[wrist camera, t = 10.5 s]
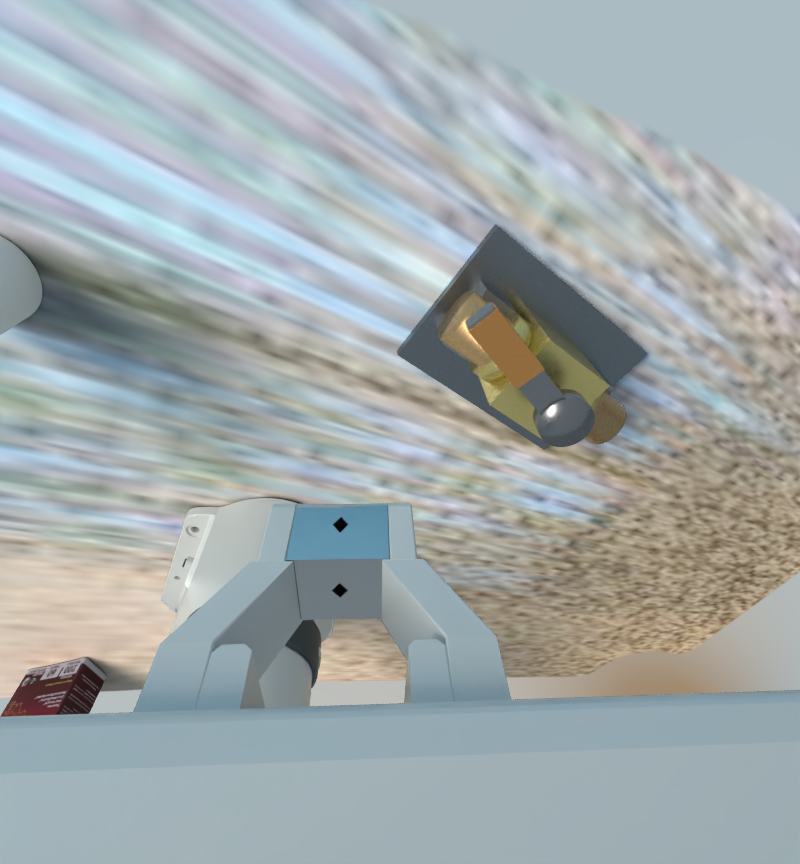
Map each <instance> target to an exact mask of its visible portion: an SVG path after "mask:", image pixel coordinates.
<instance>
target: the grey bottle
mask: <svg viewBox="0 0 800 864" xmlns="http://www.w3.org/2000/svg"><path fill="white" fill-rule="evenodd" d="M42 292H43V291H42V284H41V280H40V277H39V274H38V272H37V270H36V268H35V267H34V265H33V264H32V262H31V261H30V260H29V258H28V257H27V256H26V255H25V254H24V253H23V252H22V251H21V250H20V249H19V248H18V247H17V246H15V245H14V244H13V243H11V242H10V241H9V240H7V239H5V238H4V237H2V236H0V335H1V334H3V333H4V332H6V331H7V330H9V329H10V328H12V327H14V326H15V325H17V324H18V323H20V322H21V321H23V320H25V319H26V318H28V317H29V316H31V315H32V314H33V313H34V312H35V311H36V310H37V309H38V307H39V305H40V303H41V300H42Z"/></svg>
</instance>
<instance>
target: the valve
mask: <svg viewBox="0 0 800 864" xmlns="http://www.w3.org/2000/svg"><path fill="white" fill-rule="evenodd" d="M489 302H491V303H493V302H494V304H495V305H496V306H497V307H498V309H499V310H500V311H501V313H502V314H503V315H504V316H505V318H506V319H507V320H508V322H509V323H510V324H511V325H512V327H513V328H514V329H515V331H516V332H517V333H518V334H519V336H520V337H521V338H522V339H523V341H524V342H525V343H526V345H527V346H528V347H529V348H530V350H531V351H532V352H533V354H534V355H535V356H536V357H537V359H538V360H539V361H540V363H541V364H542V366H543V368H544V369H545V370H544V371H545V372H546V373H547V374H548V376H549V377H550V378H551V379H552V381H553V382H554V383H555V385H556V386H557V387H558V388H559V390H561V389H571V390H574V391H577V392H579V393H580V394H581V395H582V396H583V397H584V398H585V400H586V401H587V402H588V404H589V405H590V407H591V408H592V409H593V411H594V414H595V422H594V426H593V428H592V430H591V431H590V433H589V434H588V435H587V436H586V437H585V438H584V439H585V440H586V441H588V442H589V443H591V444H602V443H605V442H607V441H609V440H610V439H612V438H613V437H614V436H615V435H617V433H618V432H619V431H620V430H621V428H622V427H623V425H624V422H625V419H626V410H625V407H624V406H623V405H622V404H621V403H620V402H618V401H617V400H616V399H615V398H613V397H612V396H611V395H609V394H610V393H611V392H612V391H613V390H614V389H615V388H614V387H613V385H614V384H615V383H616V382H617V381H618V380H620V379H621V378H622V377H623V376H624V375H625V374H626V373H627V372H628V371H629V370H630V369H631V368H632V367H633V366H635V365H636V364H637V363H638V362H639V361H640V360H641V359H642V358H643V357H644V356H645V355H646V354H647V352H645V351H644V350H643V349H642V348H641V347H640V346H639V345H637V344H636V343H635V342H634V341H633V340H631V339H630V338H629V337H628V336H627V335H626V334H624V333H623V332H622V331H621V330H620V329H618V328H617V327H616V326H615V325H614V324H613V323H611V322H610V321H609V320H608V319H607V318H605V317H604V316H603V315H602V314H601V313H600V312H598V311H597V310H596V309H595V308H594V307H592V306H591V305H590V304H589V303H588V302H587V301H585V300H584V299H583V298H582V297H581V296H579V295H578V294H577V293H576V292H575V291H574V290H572V289H571V288H570V287H569V286H568V285H566V284H565V283H564V282H563V281H562V280H561V279H559V278H558V277H557V276H556V275H555V274H553V273H552V272H551V271H550V270H549V269H547V268H546V267H545V266H544V265H543V264H542V263H540V262H539V261H538V260H537V259H536V258H534V257H533V256H532V255H531V254H530V253H529V252H527V251H526V250H525V249H524V248H523V247H521V246H520V245H519V244H518V243H517V242H516V241H514V240H513V239H512V238H511V237H510V236H508V235H507V234H506V233H505V232H504V231H503V230H501V229H500V228H499V227H498V226H497V225H495V226H494V227H493V228H492V229H491V231H490V232H489V233H488V235H487V236H486V237H485V238H484V240H483V241H482V242H481V244H480V245H479V246H478V247H477V249H476V250H475V251H474V253H473V254H472V255H471V256H470V258H469V259H468V260H467V262H466V263H465V264H464V265H463V267H462V268H461V269H460V271H459V272H458V273H457V274H456V276H455V277H454V278H453V280H452V281H451V282H450V283H449V285H448V286H447V287H446V289H445V290H444V291H443V292H442V294H441V295H440V296H439V298H438V299H437V300H436V301H435V303H434V304H433V305H432V307H431V308H430V309H429V311H428V312H427V313H426V314H425V316H424V317H423V318H422V320H421V321H420V322H419V323H418V325H417V326H416V327H415V329H414V330H413V331H412V332H411V334H410V335H409V336H408V338H407V339H406V340H405V341H404V343H403V344H402V345H401V347H400V348H399V349H398V350H397V353H398V355H399V356H400V357H402V358H403V359H405V360H406V361H408V362H409V363H411V364H413V365H414V366H416V367H417V368H419V369H420V370H422V371H423V372H425V373H426V374H428V375H430V376H431V377H433V378H434V379H436V380H437V381H439V382H440V383H442V384H443V385H445V386H446V387H448V388H450V389H451V390H453V391H454V392H456V393H457V394H459V395H460V396H462V397H463V398H465V399H467V400H468V401H470V402H471V403H473V404H474V405H476V406H477V407H479V408H480V409H482V410H484V411H485V412H487V413H488V414H490V415H491V416H493V417H494V418H496V419H497V420H499V421H501V422H502V423H504V424H505V425H507V426H508V427H510V428H511V429H513V430H514V431H516V432H517V433H519V434H521V435H522V436H524V437H525V438H527V439H528V440H530V441H531V442H533V443H534V444H536V445H538V446H539V447H541V448H542V449H544V450H545V449H546V448H547V447H548V446H549V444H547V443H546V442H545V441H544V440H543V439H542V438H541V436H540V434H539V432H538V430H537V428H536V426H535V424H534V422H533V412H534V409H535V407H534V406H533V405H532V404H531V403H530V402H529V400H528V399H527V398H526V397H525V396H524V394H523V393H522V392H521V391H520V390H519V388H518V389H516V388H515V387H514V385H513V384H512V383H511V382H510V381H509V379H508V378H507V377H506V376H505V375H504V374H503V372H502V371H501V370H500V369H499V368H498V366H497V365H496V364H495V363H494V362H493V361H492V359H491V358H490V357H489V356H488V355H487V353H486V352H485V351H484V350H483V349H482V347H481V346H480V345H479V344H478V343H477V342H476V340H475V339H474V338H473V337H472V336H471V334H470V333H469V332H468V329H467V327H466V325H465V324H466V323H465V321H466V320H467V319H469V318H470V317H471V316H472V315H474V314H475V313H476V312H477V311H479V310H480V309H481V308H482V307H484V306H485V305H486V304H487V303H489Z"/></svg>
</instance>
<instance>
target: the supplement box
mask: <svg viewBox="0 0 800 864" xmlns="http://www.w3.org/2000/svg"><path fill="white" fill-rule="evenodd" d="M106 677H107V675H106V674H105V673H104V672H103V671H102V670H100V669H99V668H98V667H97V666H96V665H95V664H94V663H92V662H91V661H90V660H89V659H88V658H86V657H85V658H81V659H78V660H73V661H69V662H64V663H60V664H55V665H50V666H45V667H40V668H35V669H29V670H28V672H27V674H26V675H25V677H24V679H23V680H22V682H21V684H20V685H19V687H18V688H17V690H16V692H15V693H14V695H13V697H12V698H11V700H10V702H9V703H8V705H7V707H6V708H5V710H4V711H3V713H2V715H1V716H0V717H9V716H39V715H69V714H89V712H90V711H91V708H92V706H93V704H94V702H95V700H96V698H97V696H98V694H99V692H100V689H101V687H102V685H103V683H104V681H105V679H106Z"/></svg>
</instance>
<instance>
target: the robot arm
mask: <svg viewBox="0 0 800 864" xmlns="http://www.w3.org/2000/svg"><path fill="white" fill-rule="evenodd" d="M161 600H162V602H163V603H164V604H165V605H166V606H167V607H169V608H170V609H171V610H173V611H174V612H176V615H175V618H174V621H173V623H172V626H171V629H170V632H169V634H170V635H169V636H168V637H167V638H166V639H165V640H164V641H163V642H162V643H161V644H160V646H159V648H158V651H157V653H156V656H155V658H154V661H153V663H152V666H151V669H150V671H149V674H148V676H147V679H146V681H145V684H144V686H143V689H142V691H141V694H140V697H139V699H138V702H137V704H136V707H135V709H134V712H131V713H99V714H69V715H39V716H9V717H0V864H800V690H787V691H786V690H785V691H756V692H730V693H729V692H728V693H727V692H725V693H699V694H698V693H697V694H696V693H695V694H665V695H636V696H607V697H575V698H550V699H549V698H545V699H517V700H516V699H515V700H511V697H510V692H509V688H508V684H507V680H506V675H505V671H504V667H503V663H502V658H501V654H500V650H499V645H498V641H497V637H496V635H495V634H494V633H493V632H492V631H491V630H490V629H489V628H488V627H487V626H486V625H485V624H484V623H483V621H482V620H481V619H480V618H479V617H478V616H477V615H476V614H475V613H474V612H473V611H472V610H471V609H470V608H469V607H468V605H467V604H466V603H465V602H464V601H463V600H462V599H461V598H460V597H459V596H458V595H457V594H456V593H455V592H454V591H453V590H452V588H451V587H450V586H449V585H448V584H447V583H446V582H445V581H444V580H443V579H442V578H441V577H440V576H439V575H438V574H437V572H436V571H435V570H434V569H433V568H432V567H431V566H430V565H429V564H428V563H427V562H426V561H425V560H424V559H417V553H416V543H415V534H414V524H413V514H412V505H411V504H410V503H388V505H387V503H379V504H298V503H295V502H291V501H287V500H282V499H274V498H256V499H248V500H243V501H239V502H236V503H233V504H230V505H227V506H222V507H196V508H192V509H190V510H189V511H188V512H187V515H186V518H185V521H184V524H183V528H182V531H181V534H180V537H179V541H178V544H177V547H176V550H175V553H174V557H173V560H172V563H171V566H170V570H169V573H168V576H167V579H166V583H165V586H164V590H163V593H162V597H161ZM337 618H381V621H382V622H383V624H384V625H385V627H386V628H387V630H388V631H389V633H390V635H391V636H392V638H393V639H394V641H395V642H396V644H397V646H398V647H399V649H400V650H401V652H402V653H403V655H404V656H405V658H406V660H407V674H406V687H405V701H404V703H402V704H401V703H399V704H370V705H340V706H310V695H311V688H312V687H313V686H314V684H315V682H316V679H317V674H318V669H319V667H320V661H321V642H323V641H324V640H325V639H326V638H327V637H329V636H330V635H331V633H332V630H333V624H334V619H337Z"/></svg>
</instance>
